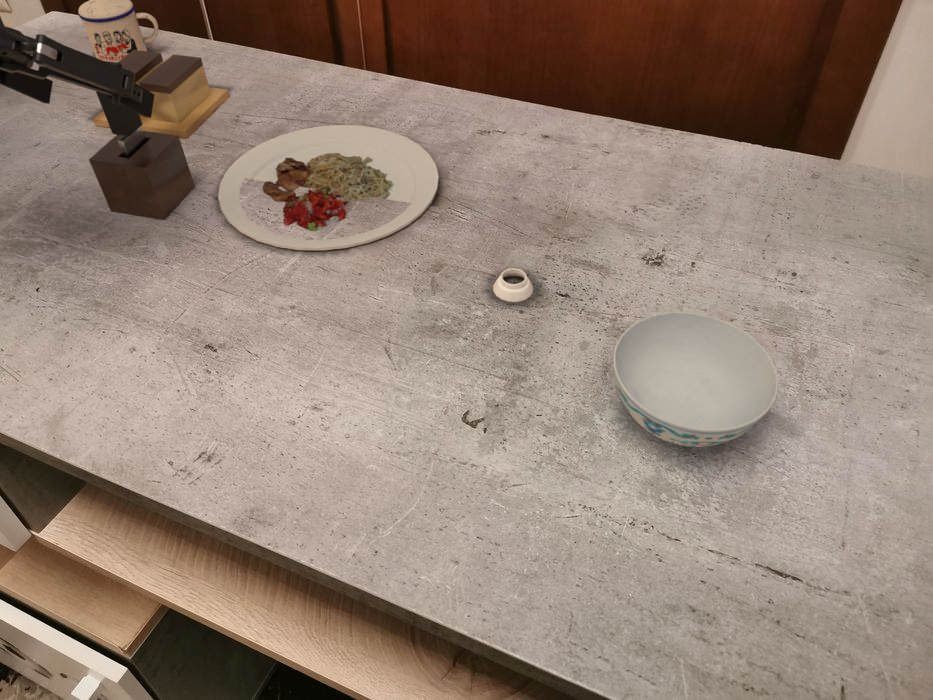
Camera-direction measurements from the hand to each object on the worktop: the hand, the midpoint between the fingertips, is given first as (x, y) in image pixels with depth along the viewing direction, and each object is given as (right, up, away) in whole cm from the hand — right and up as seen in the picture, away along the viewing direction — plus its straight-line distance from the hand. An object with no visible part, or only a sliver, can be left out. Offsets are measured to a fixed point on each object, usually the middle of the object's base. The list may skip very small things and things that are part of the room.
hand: (98, 99), depth 85 cm
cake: (-6, +9, +33) cm, 34 cm away
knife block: (+1, -10, +14) cm, 17 cm away
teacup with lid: (-17, +23, +46) cm, 55 cm away
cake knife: (+1, -10, +14) cm, 17 cm away
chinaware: (+64, -36, -12) cm, 75 cm away
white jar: (+49, -23, +1) cm, 54 cm away
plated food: (+24, -8, +16) cm, 30 cm away
